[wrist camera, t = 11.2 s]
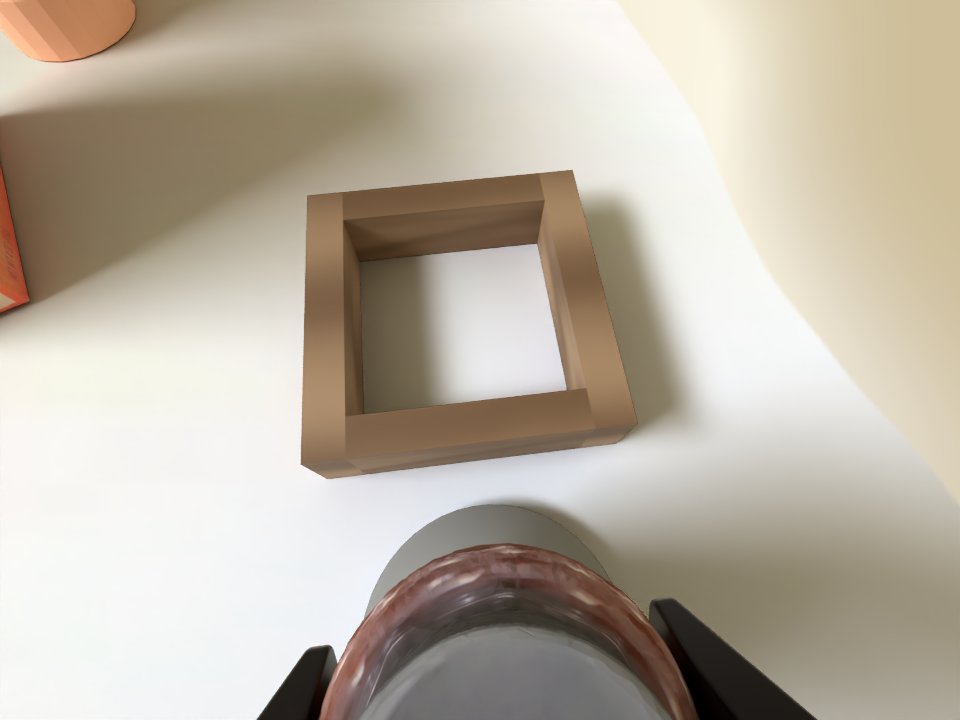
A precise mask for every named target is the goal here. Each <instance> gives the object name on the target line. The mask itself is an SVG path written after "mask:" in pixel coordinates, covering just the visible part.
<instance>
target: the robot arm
mask: <svg viewBox="0 0 960 720" xmlns="http://www.w3.org/2000/svg"><path fill="white" fill-rule="evenodd" d="M649 622H650V623H651V624H652V626H653V627H654V628H655V630H656V631H657V632H658V634H659V635H660V636H661V638H662V639H663V640H664V642H665V644H666V645H667V647H668V649H669V650H670V652H671V654H672V656H673V657H674V659H675V661H676V663H677V665H678V667H679V669H680V671H681V673H682V675H683V677H684V680H685V682H686V684H687V686H688V688H689V691H690V693H691V696H692V699H693V702H694V705H695V708H696V711H697V714H698V716H699V719H700V720H817V719H816V718H815V717H814V716H813V715H812V714H810V713H809V712H808V711H807V710H806V709H804V708H803V707H802V706H801V705H800V704H799V703H797V702H796V701H795V700H794V699H793V698H791V697H790V696H789V695H788V694H787V693H786V692H784V691H783V690H782V689H781V688H780V687H778V686H777V685H776V684H775V683H774V682H773V681H771V680H770V679H769V678H768V677H767V676H765V675H764V674H763V673H762V672H761V671H759V670H758V669H757V668H756V667H755V666H754V665H752V664H751V663H750V662H749V661H748V660H746V659H745V658H744V657H743V656H742V655H741V654H739V653H738V652H737V651H736V650H735V649H733V648H732V647H731V646H730V645H729V644H728V643H726V642H725V641H724V640H723V639H722V638H720V637H719V636H718V635H717V634H716V633H715V632H713V631H712V630H711V629H710V628H709V627H707V626H706V625H705V624H704V623H703V622H702V621H700V620H699V619H698V618H697V617H696V616H694V615H693V614H692V613H691V612H690V611H689V610H687V609H686V608H685V607H684V606H683V605H681V604H680V603H679V602H678V601H677V600H675V599H673V598H662V599H654V600H652V601H651V603H650V611H649ZM336 666H337V660H336V657H335V653H334V650H333V648H332V647H331V646H330V645H323V646H316V647H311V648H309V649H308V650H306V651H305V653H304V654H303V655H302V657H301V658H300V660H299V661H298V662H297V664H296V665H295V667H294V668H293V669H292V671H291V672H290V674H289V675H288V676H287V678H286V679H285V681H284V682H283V683H282V685H281V686H280V688H279V689H278V690H277V692H276V693H275V695H274V696H273V697H272V699H271V700H270V702H269V703H268V704H267V706H266V707H265V709H264V710H263V711H262V713H261V714H260V716H259V717H258V718H257V720H319V716H320V713H321V708H322V704H323V700H324V698H325V695H326V692H327V689H328V687H329V684H330V682H331V679H332V677H333V674H334V671H335V669H336Z"/></svg>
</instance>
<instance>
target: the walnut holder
mask: <svg viewBox="0 0 960 720" xmlns="http://www.w3.org/2000/svg"><path fill="white" fill-rule="evenodd" d="M534 243H537V244H538V249H539V254H540V259H541V263H542V268H543V273H544V278H545V283H546V288H547V293H548V298H549V303H550V307H551V312H552V317H553V322H554V327H555V332H556V337H557V342H558V347H559V351H560V356H561V361H562V366H563V371H564V376H565V381H566V386H567V390H566V391H558V392H549V393H541V394H532V395H523V396H515V397H506V398H498V399H489V400H481V401H472V402H464V403H455V404H447V405H438V406H430V407H421V408H413V409H404V410H396V411H387V412H378V413H370V414H364V405H363V369H362V334H361V298H360V262H359V261H369V260H379V259H388V258H398V257H408V256H418V255H427V254H437V253H447V252H456V251H466V250H476V249H485V248H495V247H505V246H514V245H524V244H534ZM637 424H638V422H637V418H636V415H635V411H634V407H633V403H632V399H631V395H630V391H629V387H628V384H627V380H626V376H625V372H624V368H623V364H622V360H621V356H620V352H619V349H618V345H617V341H616V337H615V333H614V329H613V325H612V321H611V318H610V314H609V310H608V306H607V302H606V298H605V294H604V290H603V287H602V283H601V279H600V275H599V271H598V267H597V263H596V259H595V256H594V252H593V248H592V244H591V240H590V236H589V232H588V228H587V225H586V221H585V217H584V213H583V209H582V205H581V201H580V197H579V193H578V190H577V186H576V182H575V178H574V174H573V170H567V171H557V172H547V173H536V174H526V175H516V176H505V177H495V178H485V179H474V180H464V181H454V182H443V183H433V184H423V185H412V186H402V187H392V188H381V189H371V190H361V191H350V192H340V193H330V194H319V195H309V196H307V232H306V273H305V314H304V355H303V396H302V437H301V465H303V466H305V467H306V468H308V469H310V470H312V471H314V472H316V473H317V474H319V475H321V476H323V477H325V478H326V479H331V478H339V477H347V476H355V475H364V474H372V473H380V472H388V471H396V470H404V469H412V468H421V467H429V466H437V465H445V464H453V463H461V462H469V461H478V460H486V459H494V458H502V457H510V456H518V455H527V454H535V453H543V452H551V451H559V450H567V449H575V448H584V447H592V446H600V445H608V444H616V443H617V442H618V441H619V440H620V439H621V438H622V437H624V436H625V435H626V434H627V433H628V432H629V431H630V430H631V429H632V428H633V427H635V426H636V425H637Z"/></svg>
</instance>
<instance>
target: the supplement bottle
mask: <svg viewBox="0 0 960 720" xmlns="http://www.w3.org/2000/svg"><path fill="white" fill-rule="evenodd" d="M319 720H700V719H699V716H698V714H697V711H696V708H695V705H694V702H693V699H692V696H691V693H690V691H689V688H688V686H687V684H686V682H685V680H684V677H683V675H682V673H681V671H680V669H679V667H678V665H677V663H676V661H675V659H674V657H673V656H672V654H671V652H670V650H669V649H668V647H667V645H666V644H665V642H664V640H663V639H662V638H661V636H660V635H659V634H658V632H657V631H656V630H655V628H654V627H653V626H652V624H651V623H650V622H649V620H648V619H647V618H646V616H645V615H644V614H643V613H642V612H641V610H640V609H639V608H638V607H637V606H636V605H635V603H634V602H633V601H632V600H631V599H630V598H629V597H628V596H626V595H625V594H624V593H623V592H622V591H621V590H620V589H618V588H617V587H615V586H614V585H613V584H612V583H611V582H609V581H608V580H606V579H605V578H603V577H602V576H600V575H599V574H597V573H596V572H594V571H593V570H591V569H589V568H588V567H586V566H585V565H583V564H582V563H580V562H578V561H575V560H573V559H571V558H569V557H566V556H564V555H561V554H559V553H557V552H554V551H551V550H546V549H542V548H538V547H533V546H527V545H521V544H512V543H501V544H486V545H477V546H473V547H469V548H465V549H460V550H456V551H454V552H452V553H450V554H447V555H444V556H442V557H440V558H436V559H433V560H432V561H430V562H429V563H427V564H426V565H424V566H423V567H420V568H418V569H417V570H416V571H414V572H413V573H411V574H409V575H408V577H407V578H405V579H403V580H401V581H400V582H399V583H398V584H397V585H396V586H394V587H393V588H392V589H391V590H390V591H388V592H387V593H386V595H385V596H384V597H383V599H382V600H381V601H380V602H379V603H378V604H377V605H376V606H375V607H374V609H373V610H372V611H371V612H370V613H369V614H368V616H367V617H366V618H365V619H364V620H363V621H362V623H361V625H360V626H359V627H358V629H357V630H356V631H355V633H354V635H353V636H352V638H351V639H350V641H349V642H348V644H347V647H346V649H345V651H344V653H343V655H342V656H341V658H340V660H339V662H338V664H337V666H336V669H335V671H334V674H333V677H332V679H331V682H330V684H329V687H328V689H327V692H326V695H325V698H324V700H323V704H322V708H321V713H320V716H319Z"/></svg>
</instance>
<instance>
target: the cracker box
mask: <svg viewBox="0 0 960 720" xmlns="http://www.w3.org/2000/svg"><path fill="white" fill-rule="evenodd" d="M29 300H30V298H29V296H28V292H27V288H26V285H25V280H24V275H23V270H22V266H21V261H20V255H19V250H18V246H17V243H16V238H15V233H14V228H13V223H12V218H11V213H10V209H9V203H8V200H7V194H6V188H5V184H4V180H3V175H2V170H1V165H0V312H3V311H5V310H8V309H10V308H13V307H16V306H18V305H21V304H23V303H26V302H28V301H29Z"/></svg>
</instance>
